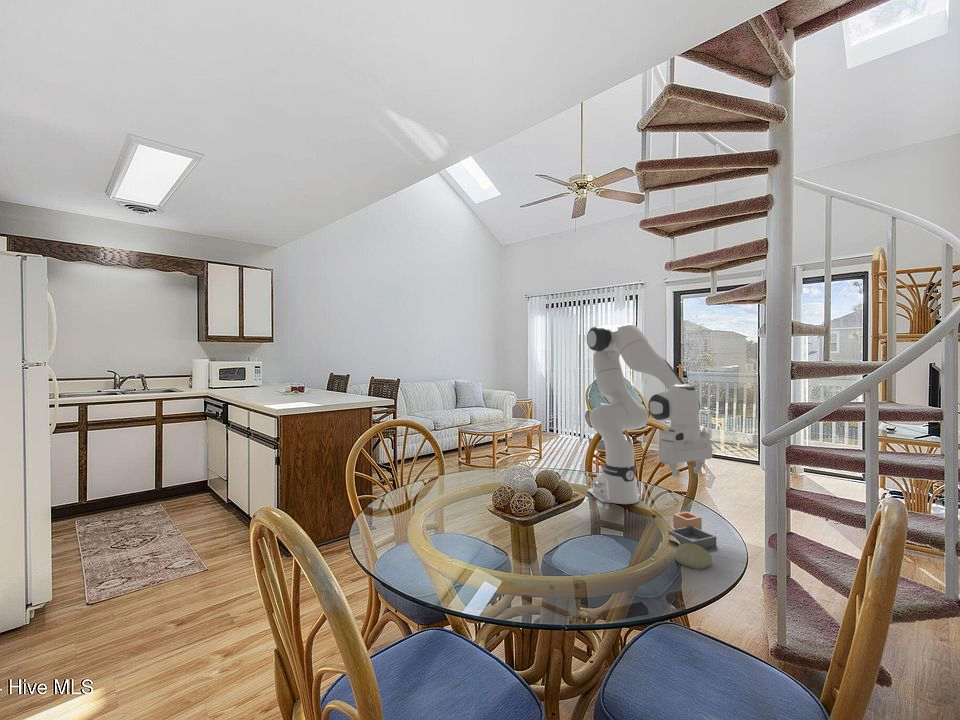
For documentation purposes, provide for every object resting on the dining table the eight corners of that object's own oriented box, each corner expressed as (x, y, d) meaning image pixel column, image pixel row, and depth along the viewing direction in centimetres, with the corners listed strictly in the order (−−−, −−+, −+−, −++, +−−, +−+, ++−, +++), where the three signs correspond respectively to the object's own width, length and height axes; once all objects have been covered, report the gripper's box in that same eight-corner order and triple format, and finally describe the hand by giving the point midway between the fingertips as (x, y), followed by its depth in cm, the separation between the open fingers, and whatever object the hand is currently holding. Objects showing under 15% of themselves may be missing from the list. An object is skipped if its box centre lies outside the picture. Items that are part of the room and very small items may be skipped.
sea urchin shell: (699, 568, 116) (680, 539, 121) (682, 580, 121) (664, 552, 126) (721, 560, 121) (702, 532, 126) (703, 572, 125) (685, 545, 130)
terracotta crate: (673, 529, 148) (673, 514, 148) (687, 526, 150) (686, 511, 150) (687, 535, 142) (687, 520, 142) (701, 532, 145) (701, 517, 145)
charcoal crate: (668, 539, 139) (668, 530, 139) (691, 535, 143) (691, 525, 143) (693, 551, 130) (692, 541, 130) (716, 546, 134) (716, 536, 134)
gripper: (701, 429, 153) (702, 469, 153) (654, 434, 146) (656, 476, 146) (716, 431, 147) (718, 473, 147) (669, 436, 140) (670, 480, 140)
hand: (687, 474), depth 146 cm, fingers open, 8 cm apart
